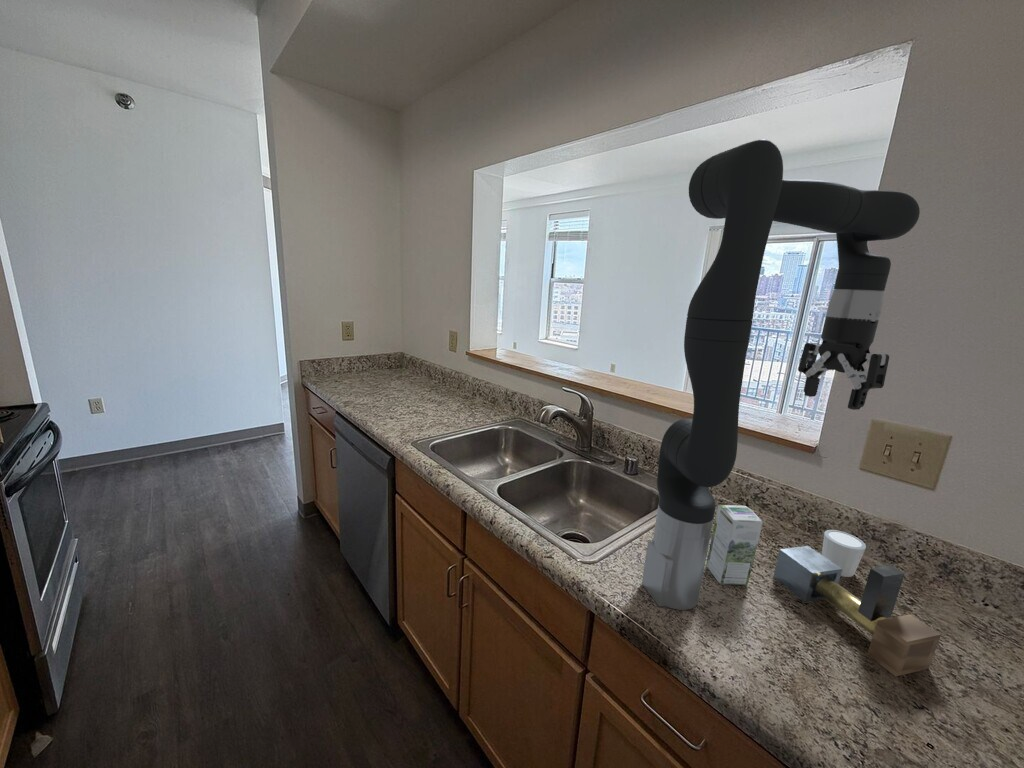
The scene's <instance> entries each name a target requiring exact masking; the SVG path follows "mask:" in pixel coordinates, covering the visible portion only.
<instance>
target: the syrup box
mask: <svg viewBox="0 0 1024 768" xmlns="http://www.w3.org/2000/svg"><path fill="white" fill-rule="evenodd" d="M763 523H764V522H763V520H762V519H761V518H760V517H759V516H758V515H757V514H756V513H755V511H753V510H752V509H750V508H749V507H748V506H746V505H735V504H733V505H732V504H731V505H730V504H728V505H727V504H718V505H717V509H716V514H715V520H714V525H713V529H712V533H711V534H712V535H711V538H710V543H709V547H708V552H707V557H706V562H705V566H706V567H707V569H708V570H709V571H710V573H711V574H712V576H713V577H714V578H715V579H716V581H717V582H718V584H719V585H724V586H725V585H728V586H729V585H732V586H733V585H734V586H735V585H736V586H748V585H749V583H750V577H751V573H752V569H753V564H754V561H755V560H754V559H755V556H756V552H757V548H758V545H759V540H760V536H761V532H762V527H763Z"/></svg>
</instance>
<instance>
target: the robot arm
mask: <svg viewBox="0 0 1024 768" xmlns="http://www.w3.org/2000/svg"><path fill="white" fill-rule="evenodd" d="M688 197H689V201H690V204H691V205H692V208H694V210H695V211H696V212H697V213H698V214H699V215H701V216H703V217H705V218H707V219H708V218H709V219H714V220H718V219H719V220H720V219H724V226H723V230H722V231H723V232H722V235H721V240H720V241H721V242H720V245H719V248H718V250H717V253H716V255H715V258H714V260H713V261H712V264H711V265H710V266H709V268H708V271H707V272H706V273H705V275H704V276H703V278H702V279H701V282H700V283H699V285H698V286H697V288H696V290H695V292H694V294H693V295H692V297H691V299H690V302H689V304H688V308H687V314H686V322H685V330H684V338H683V349H684V350H683V351H684V352H683V353H684V359H685V363H686V368H687V372H688V377H689V379H690V384H691V385H690V386H691V388H692V389H691V390H692V394H693V411H692V412H693V413H692V418H682V419H679V420H677V421H675V422H673V423H671V425H669V427H668V428H667V430H666V431H665V432H664V434H663V437H662V440H661V442H660V448H659V456H658V465H657V466H658V467H657V479H656V488H657V492H658V505H657V511H656V517H655V523H654V529H653V530H654V531H653V535H652V536H653V537H652V539H649V540H648V541H647V545H646V551H645V559H644V566H643V573H642V580H641V584H642V586H643V588H644V589H645V590H646V591H647V593H648V594H649V595H650V596H651V598H652V599H653V600H654V601H655V603H656V604H657V605H658V607H661V608H663V607H666V608H670V609H674V610H680V611H686V610H691V609H694V608H695V607H696V606H697V604H698V603H699V598H700V593H701V587H702V583H703V577H704V571H705V566H706V563H707V558H708V552H709V547H710V542H711V536H712V535H711V534H712V531H713V529H712V528H713V526H714V525H713V523H714V521H715V520H714V518H715V515H716V514H715V513H716V507H717V506H716V505H717V504H716V500H715V497H714V496H713V494H712V492H711V490H710V488H713V487H717V486H718V485H720V484H722V483H723V482H725V481H726V479H728V478H729V476H730V474H731V473H732V471H733V468H734V466H735V463H736V461H737V460H736V459H737V453H738V452H737V451H738V439H739V438H738V437H739V435H738V434H739V433H738V432H739V417H740V416H739V415H740V412H739V411H740V410H739V409H740V401H741V395H742V394H741V392H742V387H743V379H744V373H745V364H746V358H747V353H748V349H749V343H750V339H751V331H752V327H753V320H754V313H755V312H754V311H755V304H756V298H757V292H758V291H757V290H758V286H759V280H760V276H761V270H762V266H763V261H764V256H765V251H766V247H767V243H768V240H769V235H770V232H771V228H772V224H773V222H775V223H777V222H778V223H782V224H783V223H784V224H788V225H794V226H797V227H802V228H803V227H804V228H807V229H810V230H811V229H812V230H815V231H820V232H825V233H830V234H836V237H835V238H836V245H837V258H838V261H837V262H838V270H837V275H836V276H835V277H836V279H835V282H834V286H833V290H832V294H831V296H830V299H829V300H828V301H829V302H828V305H827V309H826V310H827V311H826V314H825V319H824V321H823V327H822V332H821V336H820V338H821V340H822V342H821V344H820V343H819V342H806V343H804V346H803V350H802V354H801V357H800V360H799V364H798V368H797V371H798V372H799V373H803V374H804V375H805V383H804V386H803V392H804V396H805V397H816V396H817V394H818V390H819V385H820V382H821V378H820V377H821V376H822V375H824V374H825V372H828V371H829V370H830V371H836V372H838V373H843V374H844V373H845V374H846V377H847V378H848V379H850V380H851V383H852V386H853V387H854V388H852V389H851V391H850V395H849V399H848V400H849V401H848V403H847V408H848V409H849V410H857V411H858V410H860V409H861V408H863V407H864V406H865V403H866V399H867V396H868V392H869V391H870V390H873V389H882V388H883V387H884V386H885V380H886V376H887V371H888V366H889V361H890V355H889V354H887V353H871V352H870V347H871V345H872V344H873V343H874V340H875V336H876V332H877V328H878V325H879V321H880V317H881V315H882V314H881V313H882V308H883V304H884V295H885V289H886V285H887V281H888V279H889V274H890V271H891V268H892V262H891V259H890V258H889V257H887V256H886V255H885V256H884V255H881V254H880V255H879V254H873V253H870V251H869V248H868V242H873V241H885V240H886V241H887V240H894V239H897V238H900V237H902V236H905V235H906V234H908V233H909V232H910V231H911V230H912V229H914V227H915V226H916V224H917V222H918V221H919V218H920V212H921V210H920V205H919V204H918V203H919V202H918V201H917V200H916V199H915V198H914V197H913V196H911V195H910V194H908V193H905V192H902V191H894V190H879V189H878V190H877V189H876V190H875V189H859V188H856V187H853V186H850V185H845V184H842V183H840V182H833V181H827V180H822V179H821V180H820V179H819V180H817V179H784V161H783V156H782V154H781V150H780V149H779V147H778V146H777V145H776V144H775V143H774V142H773V141H771V140H769V139H762V138H761V139H757V140H756V139H755V140H752V141H749V142H746V143H743V144H739V145H738V146H735V147H732V148H730V149H727V150H725V151H722V152H719V153H716V154H715V155H712V156H710V157H708V158H707V159H706V160H704V161H703V162H701V163H700V164H699V165H698V166H697V167H696V169H695V170H694V172H693V173H692V175H691V177H690V180H689V183H688ZM818 355H819V356H820V357H819V358H818ZM817 358H818V359H817ZM866 362H867V364H868V370H867V368H866V366H865V363H866Z"/></svg>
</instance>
